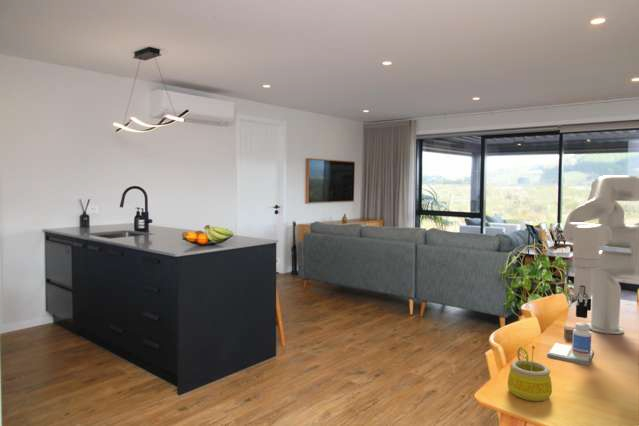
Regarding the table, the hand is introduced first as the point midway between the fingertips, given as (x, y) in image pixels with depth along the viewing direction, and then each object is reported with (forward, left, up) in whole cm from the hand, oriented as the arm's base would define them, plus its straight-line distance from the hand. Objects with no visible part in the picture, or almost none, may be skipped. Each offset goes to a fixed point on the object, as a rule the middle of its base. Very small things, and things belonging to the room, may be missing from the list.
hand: (583, 313), depth 153 cm
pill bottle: (0, 0, -14) cm, 14 cm away
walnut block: (-18, -6, -15) cm, 24 cm away
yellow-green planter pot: (+41, -8, -15) cm, 44 cm away
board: (+1, -3, -15) cm, 15 cm away
